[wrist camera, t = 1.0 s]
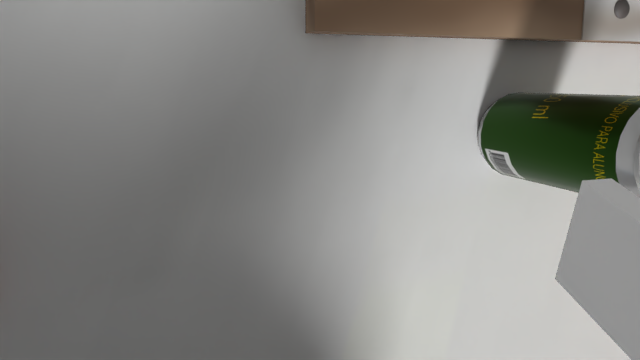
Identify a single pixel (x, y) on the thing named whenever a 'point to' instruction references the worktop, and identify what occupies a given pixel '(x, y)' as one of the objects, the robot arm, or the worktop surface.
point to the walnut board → (480, 19)
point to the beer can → (564, 138)
